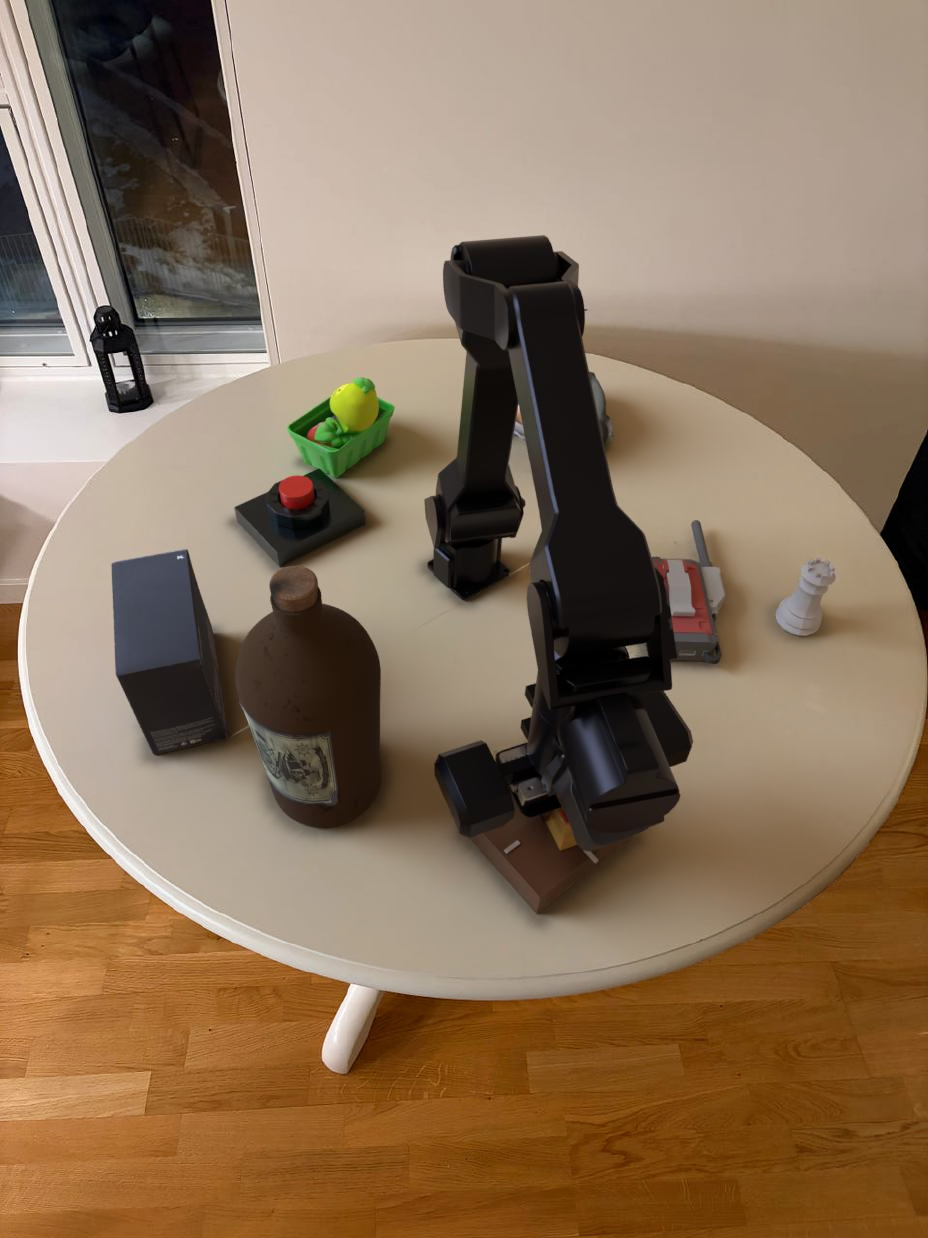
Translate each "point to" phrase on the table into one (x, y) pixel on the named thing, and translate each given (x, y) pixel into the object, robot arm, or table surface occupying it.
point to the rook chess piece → (806, 599)
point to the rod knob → (561, 828)
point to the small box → (166, 652)
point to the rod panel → (537, 859)
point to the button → (296, 492)
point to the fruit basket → (342, 427)
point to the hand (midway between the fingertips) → (553, 813)
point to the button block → (300, 520)
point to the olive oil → (313, 703)
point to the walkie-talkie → (694, 601)
